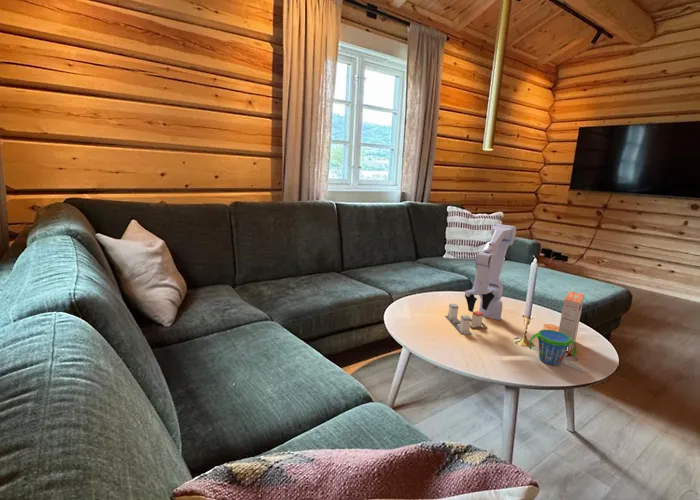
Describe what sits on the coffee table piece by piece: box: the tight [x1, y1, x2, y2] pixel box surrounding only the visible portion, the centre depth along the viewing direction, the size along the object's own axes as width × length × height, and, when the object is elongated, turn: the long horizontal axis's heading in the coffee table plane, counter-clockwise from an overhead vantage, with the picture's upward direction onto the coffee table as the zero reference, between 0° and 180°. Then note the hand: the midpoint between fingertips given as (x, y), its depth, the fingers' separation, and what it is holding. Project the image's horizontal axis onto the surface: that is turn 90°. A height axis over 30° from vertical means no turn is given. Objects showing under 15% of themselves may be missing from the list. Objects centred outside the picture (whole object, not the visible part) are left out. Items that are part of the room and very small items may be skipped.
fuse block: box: [444, 315, 473, 336], centre depth 165 cm, size 5×19×2 cm, turn 7°
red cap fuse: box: [470, 310, 484, 327], centre depth 165 cm, size 3×3×6 cm
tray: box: [470, 318, 488, 330], centre depth 166 cm, size 7×8×2 cm
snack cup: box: [528, 329, 578, 366], centre depth 140 cm, size 16×10×10 cm
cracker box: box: [558, 290, 585, 354], centre depth 152 cm, size 14×6×21 cm, turn 144°
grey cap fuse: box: [447, 303, 459, 320], centre depth 170 cm, size 3×3×6 cm
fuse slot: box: [459, 315, 472, 333], centre depth 158 cm, size 3×3×6 cm
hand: (477, 310), depth 164 cm, fingers open, 7 cm apart
